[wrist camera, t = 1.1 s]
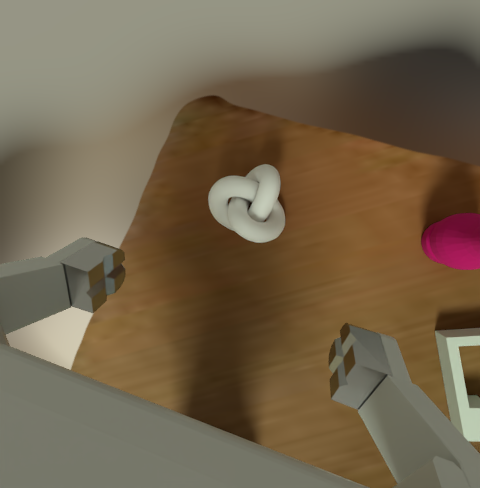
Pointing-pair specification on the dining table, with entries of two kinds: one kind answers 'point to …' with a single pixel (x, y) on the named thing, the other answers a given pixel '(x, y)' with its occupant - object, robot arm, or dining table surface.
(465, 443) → the robot arm
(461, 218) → the pepper mill
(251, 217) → the white knot sculpture
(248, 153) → the dining table surface
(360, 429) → the dining table surface
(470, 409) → the keyhole board
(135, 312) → the dining table surface
